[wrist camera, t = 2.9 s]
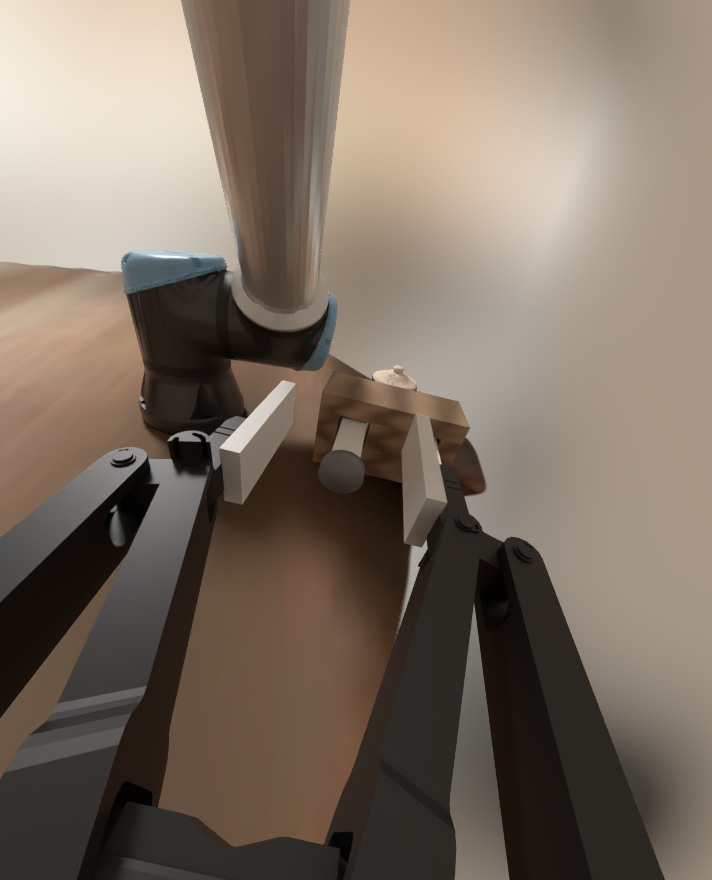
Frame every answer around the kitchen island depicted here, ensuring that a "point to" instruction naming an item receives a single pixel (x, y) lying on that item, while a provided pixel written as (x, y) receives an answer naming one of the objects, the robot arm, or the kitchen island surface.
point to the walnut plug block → (386, 422)
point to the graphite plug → (345, 459)
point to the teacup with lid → (395, 378)
